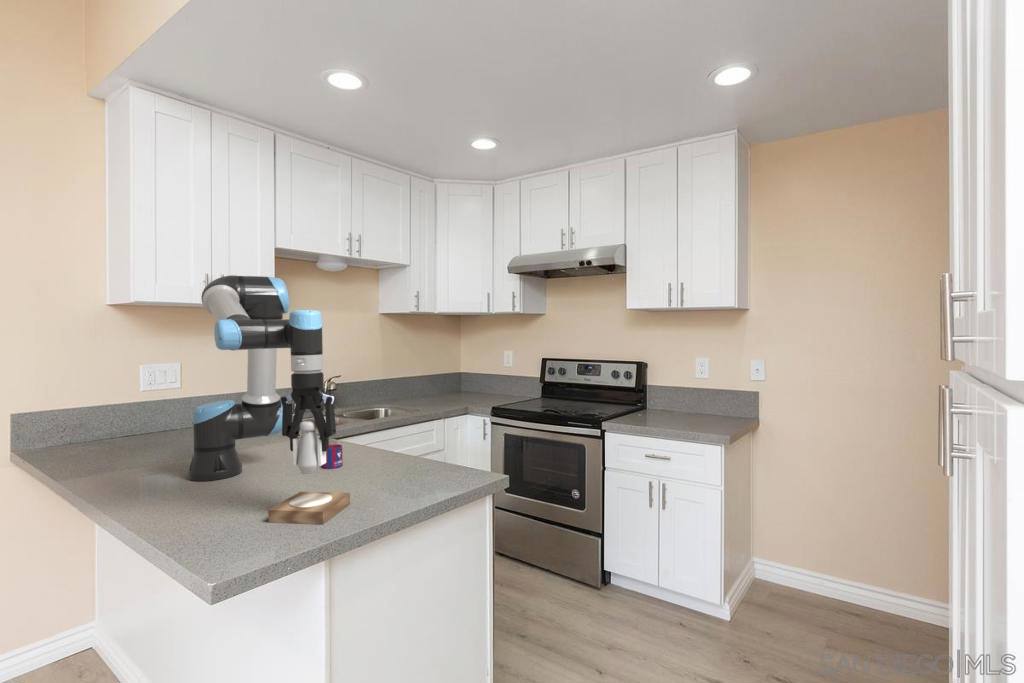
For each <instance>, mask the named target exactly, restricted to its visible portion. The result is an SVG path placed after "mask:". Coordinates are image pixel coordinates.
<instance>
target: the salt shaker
mask: <svg viewBox="0 0 1024 683" xmlns="http://www.w3.org/2000/svg"><path fill="white" fill-rule="evenodd" d="M316 430H318V429H317V425H316V422H315V419H307V420H302V422H301V423H300V431H302V432H301V436H300V437H301V443H300V450H299V457H298V465H297V467H298V469H299V471H300V473H301V474H303V475H314V474H317V473H319V471H320V469H321V468H322V465H321V466H318V448H317V439H318V437H317V432H316Z"/></svg>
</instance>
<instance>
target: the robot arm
mask: <svg viewBox="0 0 1024 683" xmlns="http://www.w3.org/2000/svg"><path fill="white" fill-rule="evenodd" d="M288 292H289V291H288V288H287V285H286V283H285V282H284V280H283V279H281V278H279V277H272V276H257V275H256V276H255V275H252V276H251V275H234V274H233V275H225V276H221V277H218V278H216V279H214V280H212V281H211V282H209V283H208V284H207V285H206V286H205V287H204V289H203V290H202V293H201V298H200V299H201V303H202V305H203V308H204V309H205V310H206V311H207V312H208V313H209V314H211V315H212V316H213V317H214V320H215V321H216V322H215V324H214V329H213V330H214V331H213V332H214V335H213V336H214V343H215V346H216V348H217V349H218V350H221V351H227V350H228V351H242V350H243V351H245V350H247V370H246V371H247V380H246V384H247V385H246V386H247V387H246V389H247V390H246V393H245V394H244V395H243V396H242V397H241V403H236V404H235V401H234V400H232V399H225V400H219V401H214V402H208V403H205V404H204V403H203V404H202V405H199V406H197V407H196V408H194V410H193V411H192V421H191V422H192V426H193V427H192V428H193V430H192V432H193V454H192V458H191V462H190V465H189V469H188V470H187V474H188V476H187V478H188V480H190V481H194V482H208V481H215V480H216V481H217V480H223V479H227V478H232V477H235V476H237V475H239V474H241V473H242V472H243V464H242V461H241V460H240V456H239V454H238V451H237V448H236V441H237V440H244V439H249V438H252V439H253V438H258V437H260V438H261V437H269V436H272V435H277V434H279V433H280V432H281V435H282V437H286V438H289V450H290V452H292V457H293V458H292V459H293V466H298V457H299V450H300V443H301V437H302V436H301V434H300V431H301V430H300V423H301V422H302V421H303V419H304V415H305V412H306V411H307V410H310V413H311V414H312V416H313V418H314V419H313V420H315V422H316V425H317V429H316V430H317V432H318V435H319V438H317V448H318V466H321V467H322V465H323V464H325V463H326V451H328V450H329V445H330V441H329V438H330V437H332V436H334V435H336V434H337V426H336V414H335V402H336V396H335V395H329V394H326V393H325V391H324V384H325V382H324V373H323V372H322V370H324V355H323V354H324V352H323V350H324V349H323V348H324V347H323V320H322V319H323V318H322V313H321V311H320V310H314V309H310V310H309V309H298V310H291V311H290V298H289V297H290V296H289V293H288ZM289 311H290V313H289ZM288 313H289V317H288V318H289V319H284V318H283V315H285V314H288ZM277 349H289V350H290V371H291V372H293V373H291V375H290V381H291V382H290V383H291V384H290V385H291V389H292V390H291V393H290V394H289V395H285V396H281V395H279V394H278V393H277V392H276V386H277V384H276V383H277V352H278V350H277ZM293 402H294V404H295V405H294V409H293ZM322 402H323V403H324V413H323V407H322ZM293 412H294V415H293ZM324 414H325V416H324Z"/></svg>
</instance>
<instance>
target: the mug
mask: <svg viewBox="0 0 1024 683" xmlns="http://www.w3.org/2000/svg"><path fill="white" fill-rule="evenodd" d="M343 460H344V459H343V445H342V444H336V443H335V444H334V443H333V444H329V450H328V451H326V463H325V464H323V465H321V468H322V469H324V470H334V469H339V468H341V467H343V464H344V462H343Z"/></svg>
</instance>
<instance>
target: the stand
mask: <svg viewBox="0 0 1024 683" xmlns="http://www.w3.org/2000/svg"><path fill="white" fill-rule="evenodd" d="M350 505H351V493H350V492H336V491H335V492H330V491H328V492H327V491H325V492H324V491H298V492H297V493H295V494H294V495H292V496H290V497H288V498H287V499H285V500H283V501H282V502H280V503H278V504H276V505H274V506H273V507H271V508H269V509H268V510H267V513H268V515H267V516H268V518H267V519H268V523H277V524H300V525H301V524H305V525H306V524H307V525H309V524H310V525H325V523H327V522H328V521H330V520H331V519H333V518H334V517H335V516H337V515H338V514H339V513H340V512H342V511H344V509H346V508H347V507H348V506H350Z"/></svg>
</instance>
